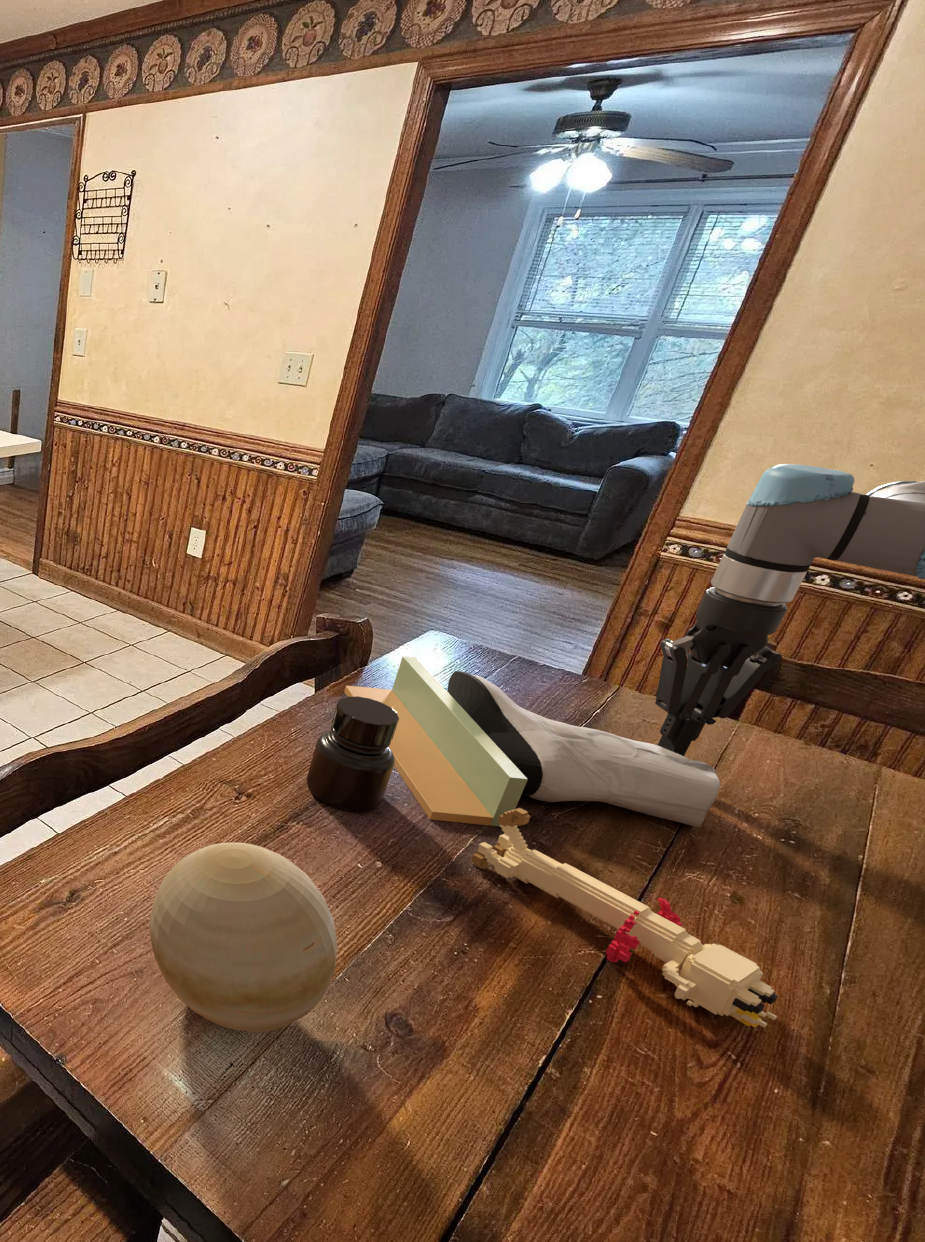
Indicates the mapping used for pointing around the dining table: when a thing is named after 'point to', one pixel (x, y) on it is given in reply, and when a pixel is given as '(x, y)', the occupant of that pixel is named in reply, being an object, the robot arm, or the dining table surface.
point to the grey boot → (587, 759)
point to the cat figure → (638, 929)
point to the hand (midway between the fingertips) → (666, 758)
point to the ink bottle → (354, 755)
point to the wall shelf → (445, 751)
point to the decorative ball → (243, 937)
